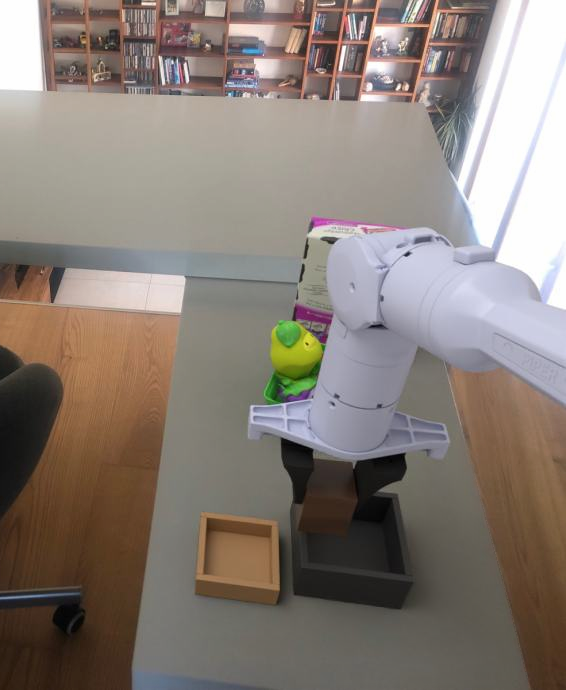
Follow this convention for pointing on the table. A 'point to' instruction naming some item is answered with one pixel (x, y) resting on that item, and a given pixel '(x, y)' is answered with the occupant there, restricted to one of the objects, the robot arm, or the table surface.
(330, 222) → the candy bar box
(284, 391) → the fruit basket
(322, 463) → the walnut block
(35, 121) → the table surface
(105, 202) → the table surface
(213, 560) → the kraft box
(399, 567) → the black basket
